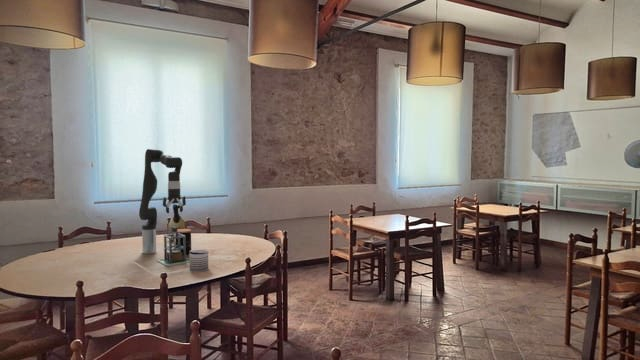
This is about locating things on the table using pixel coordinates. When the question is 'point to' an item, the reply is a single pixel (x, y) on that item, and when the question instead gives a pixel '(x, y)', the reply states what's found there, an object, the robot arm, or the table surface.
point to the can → (198, 260)
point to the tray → (173, 263)
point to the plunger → (175, 239)
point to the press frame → (174, 257)
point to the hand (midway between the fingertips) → (174, 212)
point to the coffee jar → (188, 239)
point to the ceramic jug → (176, 221)
